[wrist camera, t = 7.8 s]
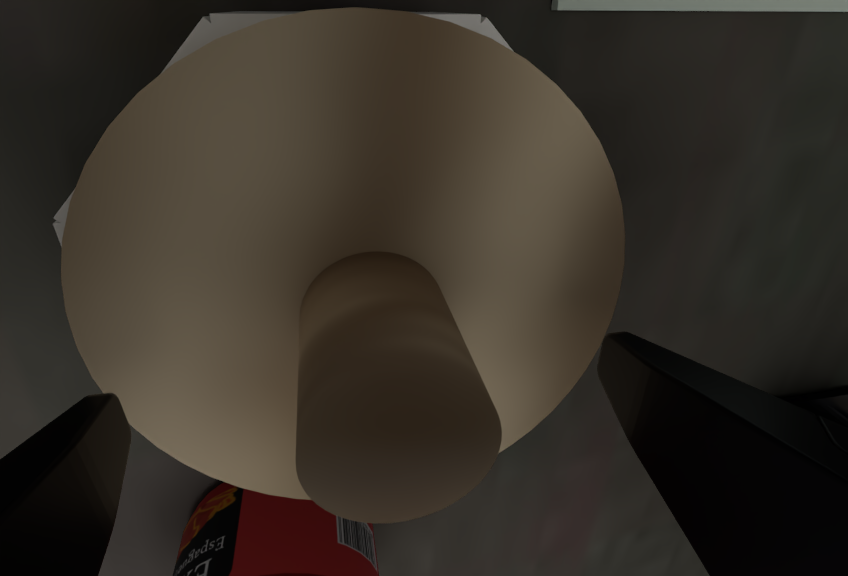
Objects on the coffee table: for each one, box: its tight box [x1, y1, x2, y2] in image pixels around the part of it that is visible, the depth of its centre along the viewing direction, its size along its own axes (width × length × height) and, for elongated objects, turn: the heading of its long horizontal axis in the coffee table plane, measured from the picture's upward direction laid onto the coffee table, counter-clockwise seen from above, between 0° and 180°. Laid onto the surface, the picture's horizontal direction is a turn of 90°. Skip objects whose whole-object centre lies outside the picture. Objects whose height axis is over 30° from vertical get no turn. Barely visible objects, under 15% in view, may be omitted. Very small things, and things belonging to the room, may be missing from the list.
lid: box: [61, 7, 625, 524], centre depth 10 cm, size 12×12×5 cm
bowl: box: [53, 11, 617, 247], centre depth 14 cm, size 12×12×5 cm
